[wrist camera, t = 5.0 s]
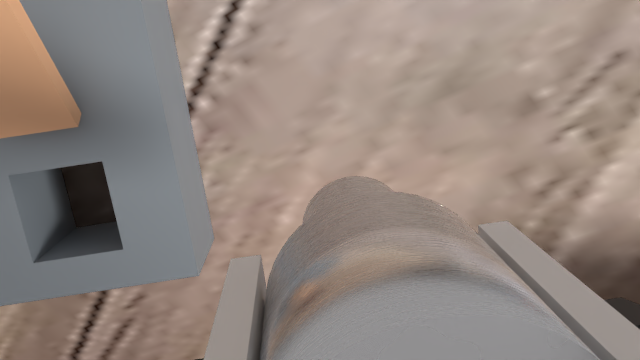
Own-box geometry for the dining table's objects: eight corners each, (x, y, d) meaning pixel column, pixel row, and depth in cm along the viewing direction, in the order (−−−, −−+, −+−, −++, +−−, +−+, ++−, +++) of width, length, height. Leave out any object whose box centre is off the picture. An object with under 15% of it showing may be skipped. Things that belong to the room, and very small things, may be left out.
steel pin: (442, 291, 20) (647, 627, 8) (284, 313, 20) (278, 683, 8) (430, 136, 18) (655, 286, 7) (260, 158, 18) (212, 348, 7)
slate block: (214, 238, 36) (198, 275, 30) (28, 266, 36) (-24, 309, 30) (146, -98, 31) (113, -131, 25) (-68, -66, 31) (-151, -92, 25)
